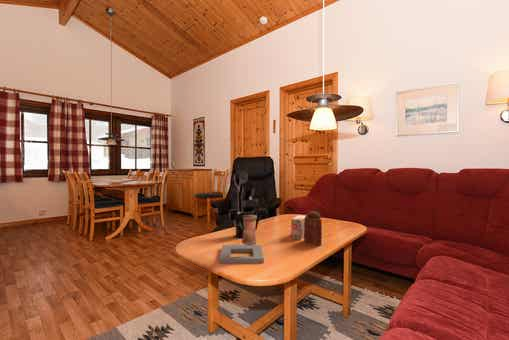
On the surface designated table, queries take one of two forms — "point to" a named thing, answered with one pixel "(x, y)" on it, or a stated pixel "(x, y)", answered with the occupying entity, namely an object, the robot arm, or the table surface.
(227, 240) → the table surface
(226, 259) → the gray square frame
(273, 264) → the table surface
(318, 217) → the wooden figurine
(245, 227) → the cord spool
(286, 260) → the table surface
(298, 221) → the stack of blocks
